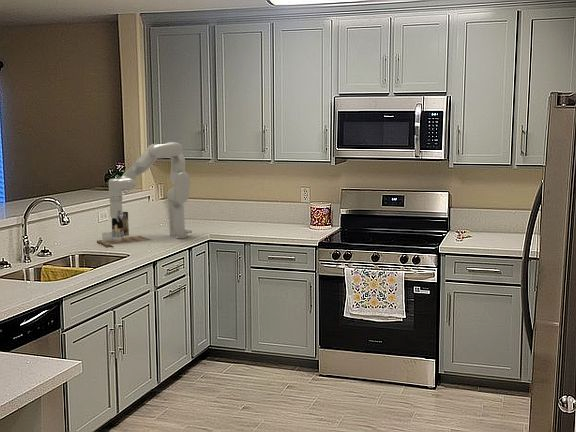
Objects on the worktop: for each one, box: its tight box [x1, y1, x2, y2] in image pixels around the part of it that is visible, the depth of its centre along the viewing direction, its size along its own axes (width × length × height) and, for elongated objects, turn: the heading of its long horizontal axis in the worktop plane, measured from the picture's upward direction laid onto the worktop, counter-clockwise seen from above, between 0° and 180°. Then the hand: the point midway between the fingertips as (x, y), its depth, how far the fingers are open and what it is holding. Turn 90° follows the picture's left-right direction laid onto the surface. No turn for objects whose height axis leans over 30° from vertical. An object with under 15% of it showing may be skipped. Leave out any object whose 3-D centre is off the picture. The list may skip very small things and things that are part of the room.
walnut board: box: [96, 235, 152, 248], centre depth 445 cm, size 28×19×2 cm
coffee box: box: [110, 211, 130, 237], centre depth 464 cm, size 9×6×16 cm
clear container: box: [101, 228, 125, 243], centre depth 443 cm, size 13×13×6 cm
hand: (117, 227), depth 441 cm, fingers open, 9 cm apart
